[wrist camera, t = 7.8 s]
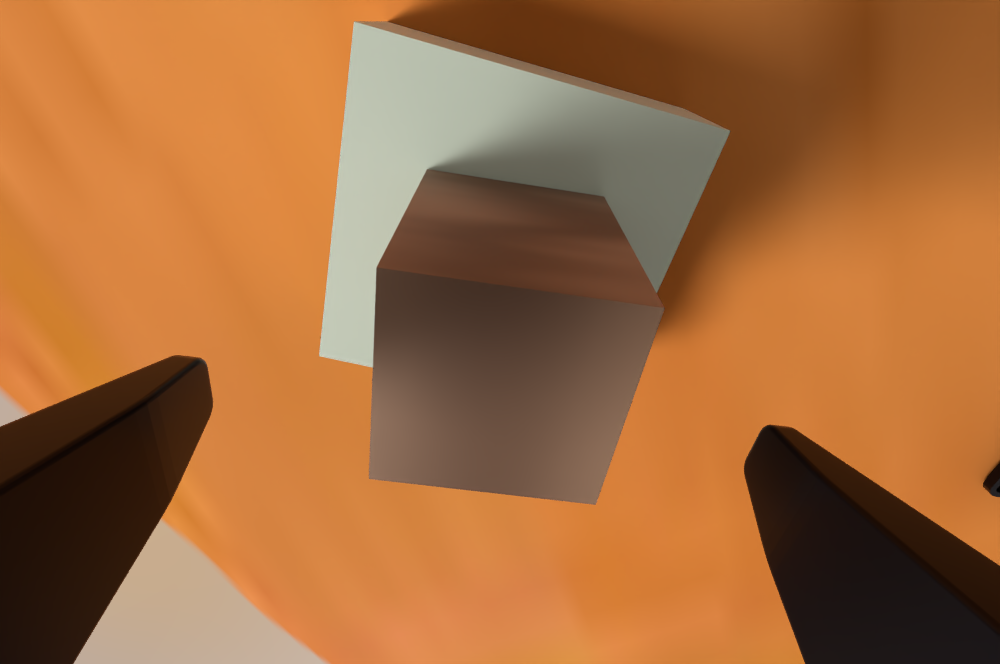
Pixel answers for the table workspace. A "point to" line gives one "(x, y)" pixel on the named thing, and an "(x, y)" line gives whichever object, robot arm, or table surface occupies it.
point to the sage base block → (495, 155)
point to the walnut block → (506, 340)
